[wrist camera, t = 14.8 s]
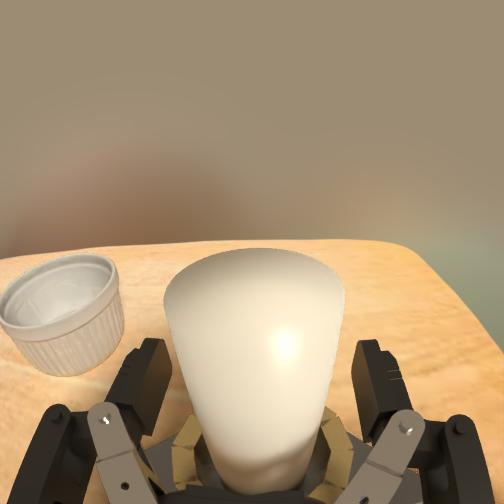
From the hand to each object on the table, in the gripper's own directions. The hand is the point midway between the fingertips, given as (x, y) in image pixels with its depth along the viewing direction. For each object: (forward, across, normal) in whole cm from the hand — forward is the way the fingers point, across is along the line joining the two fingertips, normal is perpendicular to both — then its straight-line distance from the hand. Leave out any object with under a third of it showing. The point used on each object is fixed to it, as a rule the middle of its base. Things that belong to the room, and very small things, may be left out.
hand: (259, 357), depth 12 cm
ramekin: (+9, +19, +10) cm, 24 cm away
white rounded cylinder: (-2, 0, +8) cm, 9 cm away
